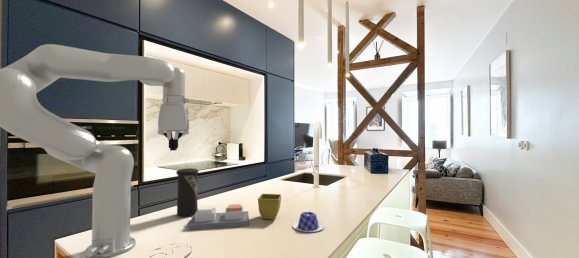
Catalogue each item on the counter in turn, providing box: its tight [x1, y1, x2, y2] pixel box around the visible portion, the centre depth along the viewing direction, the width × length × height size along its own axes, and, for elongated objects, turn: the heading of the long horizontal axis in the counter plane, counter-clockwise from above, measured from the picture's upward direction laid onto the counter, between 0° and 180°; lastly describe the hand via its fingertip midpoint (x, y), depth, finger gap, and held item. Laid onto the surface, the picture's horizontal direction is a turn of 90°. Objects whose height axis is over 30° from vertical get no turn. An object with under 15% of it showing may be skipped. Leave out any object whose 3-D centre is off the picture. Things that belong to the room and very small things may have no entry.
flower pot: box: [257, 193, 282, 220], centre depth 105 cm, size 9×9×9 cm
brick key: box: [227, 203, 242, 212], centre depth 100 cm, size 5×5×3 cm
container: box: [175, 167, 199, 218], centre depth 109 cm, size 9×9×20 cm
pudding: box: [292, 211, 325, 233], centre depth 95 cm, size 12×12×5 cm
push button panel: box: [187, 205, 250, 231], centre depth 99 cm, size 12×22×5 cm, turn 101°
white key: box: [198, 205, 214, 213], centre depth 98 cm, size 5×5×3 cm
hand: (173, 150), depth 93 cm, fingers closed
